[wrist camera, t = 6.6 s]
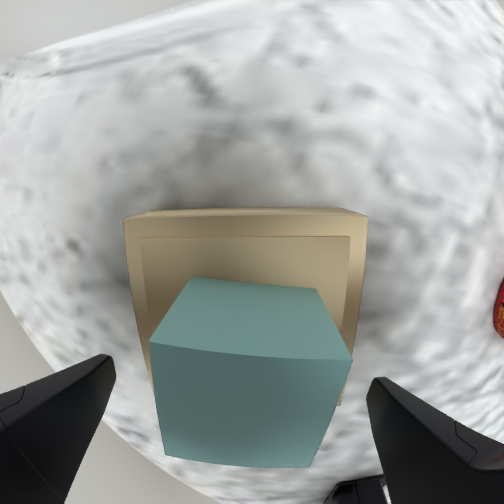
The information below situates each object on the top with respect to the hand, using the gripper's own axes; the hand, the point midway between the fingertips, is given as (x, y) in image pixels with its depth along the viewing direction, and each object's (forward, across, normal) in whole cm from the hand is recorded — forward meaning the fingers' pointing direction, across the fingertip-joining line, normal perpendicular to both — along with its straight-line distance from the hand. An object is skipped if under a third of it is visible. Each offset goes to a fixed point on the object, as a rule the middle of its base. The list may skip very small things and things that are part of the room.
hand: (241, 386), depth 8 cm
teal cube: (+4, 0, 0) cm, 4 cm away
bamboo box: (+8, 0, 0) cm, 8 cm away
